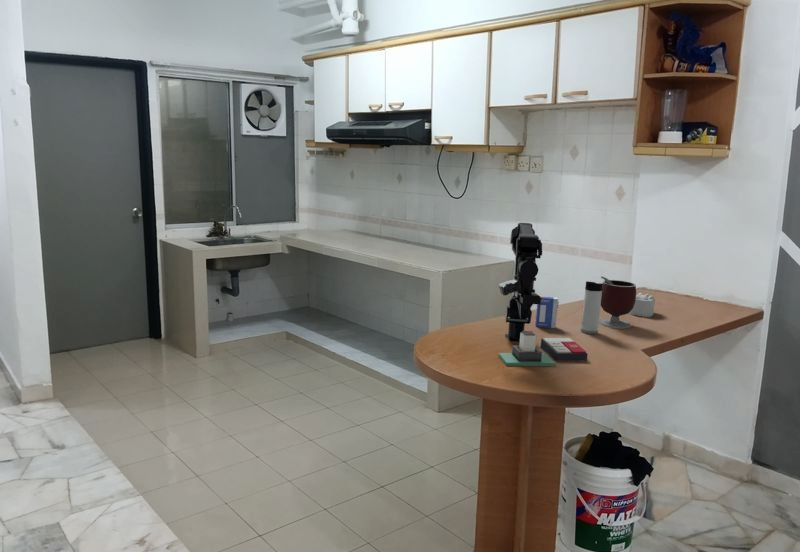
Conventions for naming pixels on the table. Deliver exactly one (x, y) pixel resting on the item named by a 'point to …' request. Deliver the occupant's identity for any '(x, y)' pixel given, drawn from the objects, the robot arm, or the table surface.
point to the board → (526, 358)
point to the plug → (527, 341)
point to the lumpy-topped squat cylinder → (643, 305)
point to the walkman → (547, 312)
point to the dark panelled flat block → (563, 349)
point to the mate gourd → (617, 301)
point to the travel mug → (591, 307)
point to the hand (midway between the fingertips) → (522, 318)
